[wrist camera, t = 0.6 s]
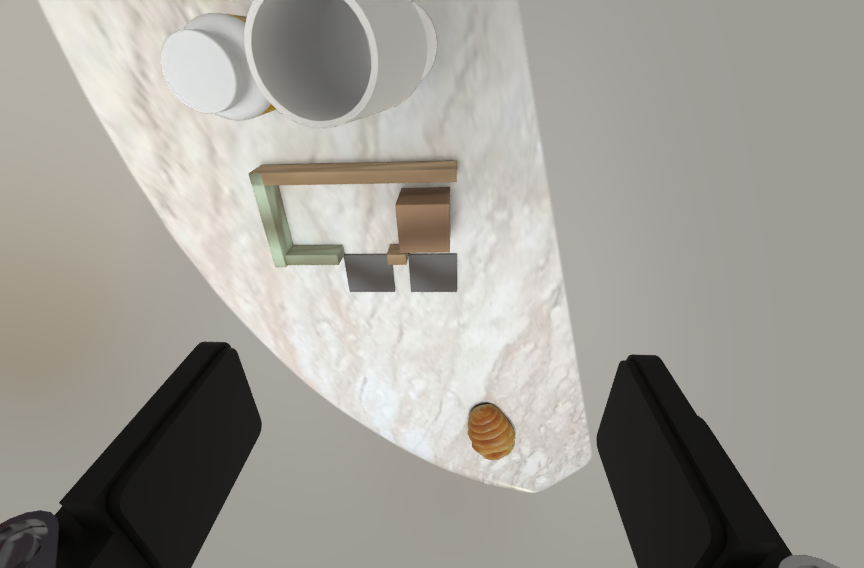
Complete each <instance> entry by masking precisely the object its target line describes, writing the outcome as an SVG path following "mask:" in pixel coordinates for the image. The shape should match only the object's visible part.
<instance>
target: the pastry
mask: <svg viewBox="0 0 864 568" xmlns="http://www.w3.org/2000/svg"><path fill="white" fill-rule="evenodd" d="M468 427H469V430H468V435H469V437H470V439H471V441H472V447H473V448H474V450H475V451H477V452H478V453H480V454H481V455H482V456H483V457H484V458H485V459H488V460H499V459H501V458H503V457H504V456H506V455H508V454H509V453H510V452H511V451H512V449H513V447H514V445H515V441H514V439H515V432H514V430H513V428H512V425H511V424H510V423H509V421H508V420H507V418H506V417H505V416H504V415H503V413H502V412H501V411H500V410H499V409H498V408H497V407H495V406H494V405H492V404H485V405H480V406H477V407H475V408H474V409H473V410H472V412H471V413H470V414H469V422H468Z"/></svg>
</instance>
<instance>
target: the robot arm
mask: <svg viewBox="0 0 864 568" xmlns="http://www.w3.org/2000/svg"><path fill="white" fill-rule="evenodd" d="M261 425H262V423H261V419H260V416H259V412H258V410H257V407H256V404H255V401H254V399H253V396H252V393H251V390H250V387H249V384H248V381H247V379H246V376H245V373H244V370H243V367H242V364H241V362H240V359H239V356H238V353H237V351H236V350H235V349H233V348H231V346H230V345H229V344H228V343H225V342H201V343H199V344H198V345H197V346H196V347H195V348H194V350H193V351H192V352H191V353H190V354H189V355H188V356H187V357H186V359H185V360H184V361H183V362H182V363H181V364H180V365H179V367H178V368H177V369H176V370H175V371H174V372H173V373H172V375H171V376H170V377H169V378H168V379H167V380H166V381H165V382H164V384H163V385H162V386H161V387H160V388H159V389H158V390H157V392H156V393H155V394H154V395H153V396H152V397H151V398H150V400H149V401H148V402H147V403H146V404H145V405H144V406H143V408H142V409H141V410H140V411H139V412H138V413H137V415H136V416H135V417H134V418H133V419H132V420H131V421H130V422H129V424H128V425H127V426H126V427H125V428H124V429H123V430H122V432H121V433H120V434H119V435H118V436H117V437H116V438H115V439H114V441H113V442H112V443H111V444H110V445H109V446H108V447H107V449H106V450H105V451H104V452H103V453H102V454H101V455H100V457H99V458H98V459H97V460H96V461H95V462H94V463H93V465H92V466H91V467H90V468H89V469H88V470H87V472H86V473H85V474H84V475H83V476H82V477H81V478H80V479H79V481H78V482H77V483H76V484H75V485H74V486H73V487H72V489H71V490H70V491H69V492H68V493H67V494H66V495H65V496H64V498H63V499H62V500H61V501H60V502H59V503H60V504H61V505H62V507H61V509H60V510H59V511H58V512H57V513H56V514H55V515H53V514H52V513H51V512H47V511H41V510H40V511H33V512H26V513H24V514H21V515H18V516H16V517H13V518H10V519H8V520H7V521H5V522H3V523H1V524H0V568H191V567H192V565H193V563H194V561H195V559H196V557H197V555H198V553H199V551H200V549H201V547H202V545H203V543H204V542H205V540H206V538H207V536H208V534H209V532H210V530H211V528H212V526H213V524H214V522H215V520H216V518H217V516H218V514H219V512H220V510H221V509H222V507H223V505H224V503H225V501H226V499H227V497H228V495H229V493H230V491H231V489H232V487H233V485H234V483H235V481H236V479H237V478H238V475H239V474H240V472H241V470H242V468H243V466H244V464H245V462H246V460H247V458H248V456H249V454H250V452H251V450H252V448H253V446H254V444H255V443H256V441H257V439H258V437H259V435H260V432H261ZM597 448H598V452H599V455H600V457H601V460H602V463H603V466H604V469H605V472H606V475H607V478H608V481H609V484H610V487H611V490H612V493H613V495H614V499H615V501H616V504H617V507H618V510H619V513H620V516H621V519H622V522H623V525H624V528H625V530H626V534H627V536H628V539H629V542H630V545H631V548H632V551H633V554H634V557H635V560H636V563H637V566H638V568H839V567H837V566H835V565H833V564H831V563H829V562H827V561H824V560H822V559H819V558H816V557H812V556H808V555H792V554H791V552H790V550H789V549H788V548H787V546H786V544H785V543H784V541H783V540H782V538H781V537H780V535H779V533H778V532H777V530H776V529H775V527H774V526H773V524H772V523H771V521H770V520H769V518H768V517H767V515H766V514H765V512H764V511H763V509H762V507H761V506H760V505H759V503H758V501H757V500H756V498H755V497H754V495H753V494H752V492H751V491H750V489H749V487H748V486H747V484H746V483H745V481H744V480H743V479H742V477H741V475H740V474H739V472H738V471H737V469H736V468H735V466H734V464H733V463H732V461H731V460H730V458H729V457H728V455H727V454H726V452H725V451H724V449H723V448H722V446H721V445H720V443H719V441H718V440H717V439H716V437H715V435H714V434H713V432H712V431H711V429H710V428H709V426H708V425H707V424H706V422H705V421H704V420H703V419H702V418H700V417H699V416H697V414H696V413H695V411H694V410H693V408H692V407H691V405H690V404H689V402H688V400H687V399H686V397H685V396H684V394H683V393H682V391H681V389H680V388H679V386H678V385H677V383H676V382H675V380H674V379H673V377H672V375H671V374H670V372H669V371H668V369H667V368H666V366H665V365H664V363H663V361H662V360H661V359H660V358H659V357H658V356H656V355H629V357H628V358H627V360H626V361H621V362H620V363H619V366H618V369H617V372H616V376H615V379H614V382H613V385H612V388H611V391H610V395H609V398H608V401H607V404H606V407H605V411H604V414H603V417H602V420H601V423H600V427H599V430H598V433H597Z"/></svg>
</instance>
